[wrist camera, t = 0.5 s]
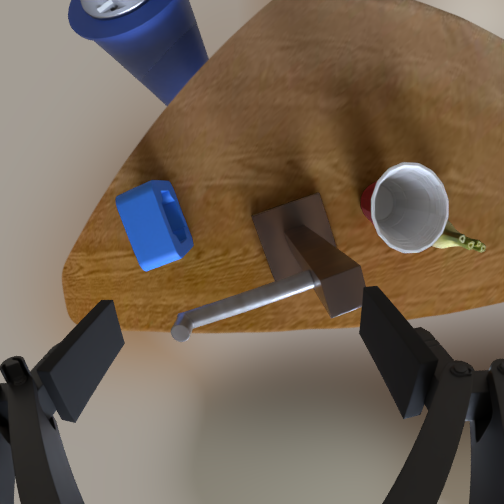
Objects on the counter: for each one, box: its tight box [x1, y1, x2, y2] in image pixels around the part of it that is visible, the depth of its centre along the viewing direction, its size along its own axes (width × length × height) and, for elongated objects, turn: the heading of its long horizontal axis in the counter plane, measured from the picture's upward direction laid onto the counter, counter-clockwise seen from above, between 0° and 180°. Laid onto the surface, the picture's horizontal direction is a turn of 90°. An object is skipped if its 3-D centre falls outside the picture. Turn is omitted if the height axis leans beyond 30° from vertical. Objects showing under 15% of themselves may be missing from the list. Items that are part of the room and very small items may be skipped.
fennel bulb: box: [432, 220, 486, 252], centre depth 39 cm, size 6×5×12 cm
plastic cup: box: [361, 162, 448, 253], centre depth 38 cm, size 11×11×12 cm
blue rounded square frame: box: [116, 180, 193, 271], centre depth 39 cm, size 5×10×10 cm, turn 20°
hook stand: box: [171, 193, 366, 342], centre depth 33 cm, size 19×10×25 cm, turn 110°
